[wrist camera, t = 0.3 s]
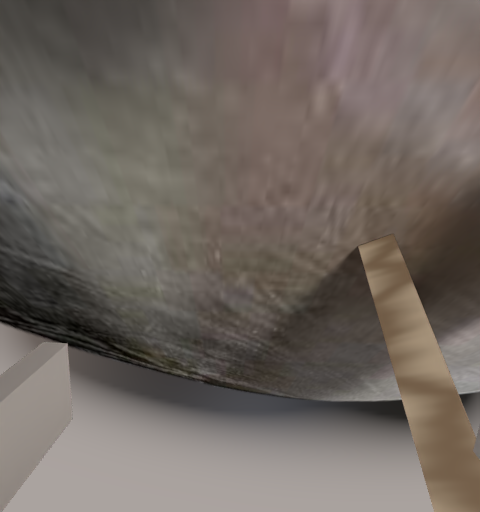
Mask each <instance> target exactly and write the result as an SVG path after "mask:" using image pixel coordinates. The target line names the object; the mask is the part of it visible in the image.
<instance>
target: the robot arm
mask: <svg viewBox="0 0 480 512" xmlns="http://www.w3.org/2000/svg"><path fill="white" fill-rule="evenodd" d="M72 419H73V414H72V401H71V386H70V372H69V358H68V344H67V343H54V342H43V343H41V344H40V345H39V346H38V347H36V348H35V349H34V350H32V351H31V352H30V353H29V354H27V355H26V356H25V357H24V358H22V359H21V360H20V361H18V362H17V363H16V364H14V365H13V366H12V367H11V368H9V369H8V370H7V371H5V372H4V373H3V374H1V375H0V512H2V511H3V510H4V508H5V507H6V506H7V504H8V503H9V502H10V500H11V499H12V498H13V497H14V495H15V494H16V492H17V491H18V490H19V489H20V487H21V486H22V485H23V483H24V482H25V481H26V479H27V478H28V477H29V475H30V474H31V473H32V471H33V470H34V469H35V468H36V466H37V465H38V464H39V462H40V461H41V460H42V458H43V457H44V455H45V454H46V453H47V452H48V450H49V449H50V448H51V447H52V445H53V444H54V443H55V441H56V440H57V439H58V437H59V436H60V435H61V433H62V432H63V431H64V429H65V428H66V427H67V426H68V424H69V423H70V421H71V420H72ZM473 452H474V453H475V454H476V456H477V457H478V458H479V460H480V426H479V430H478V433H477V437H476V441H475V445H474V449H473Z"/></svg>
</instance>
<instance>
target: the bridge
mask: <svg viewBox="0 0 480 512" xmlns="http://www.w3.org/2000/svg"><path fill="white" fill-rule="evenodd" d="M358 248H359V251H360V255H361V258H362V262H363V265H364V269H365V272H366V275H367V279H368V282H369V286H370V289H371V293H372V296H373V300H374V303H375V307H376V310H377V314H378V317H379V321H380V324H381V328H382V331H383V335H384V338H385V342H386V345H387V349H388V352H389V356H390V359H391V363H392V366H393V370H394V373H395V377H396V380H397V384H398V387H399V391H400V394H401V398H402V401H403V404H404V408H405V411H406V415H407V418H408V422H409V425H410V429H411V432H412V436H413V439H414V443H415V446H416V450H417V453H418V457H419V460H420V464H421V467H422V471H423V474H424V478H425V481H426V485H427V488H428V492H429V495H430V499H431V502H432V505H433V509H434V512H480V460H479V458H478V457H477V456H476V454H475V453H474V452H473V449H474V445H475V441H476V437H475V435H474V432H473V429H472V427H471V424H470V422H469V420H468V417H467V414H466V412H465V410H464V407H463V404H462V402H461V400H460V397H459V394H458V392H457V390H456V387H455V385H454V382H453V380H452V377H451V375H450V372H449V370H448V367H447V365H446V362H445V360H444V357H443V355H442V352H441V350H440V347H439V345H438V342H437V340H436V337H435V335H434V333H433V330H432V328H431V325H430V323H429V320H428V318H427V315H426V313H425V310H424V308H423V305H422V303H421V300H420V298H419V296H418V293H417V291H416V288H415V286H414V283H413V281H412V278H411V276H410V274H409V271H408V269H407V266H406V264H405V261H404V259H403V256H402V254H401V251H400V249H399V247H398V244H397V242H396V239H395V237H394V234H391V235H388V236H385V237H382V238H380V239H377V240H374V241H371V242H368V243H366V244H363V245H360V246H358Z"/></svg>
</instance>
